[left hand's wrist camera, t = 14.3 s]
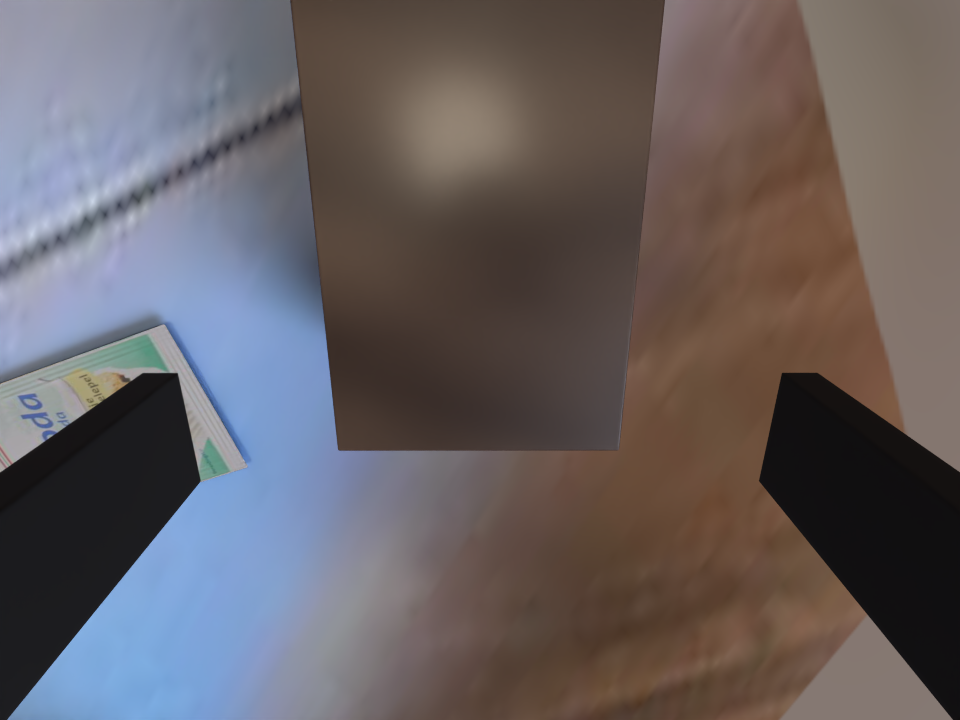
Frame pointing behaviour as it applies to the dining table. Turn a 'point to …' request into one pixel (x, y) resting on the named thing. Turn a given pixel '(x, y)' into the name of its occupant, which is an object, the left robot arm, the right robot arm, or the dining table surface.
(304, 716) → the dining table surface
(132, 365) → the baking ingredient package
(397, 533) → the dining table surface
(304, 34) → the taupe rectangular box
